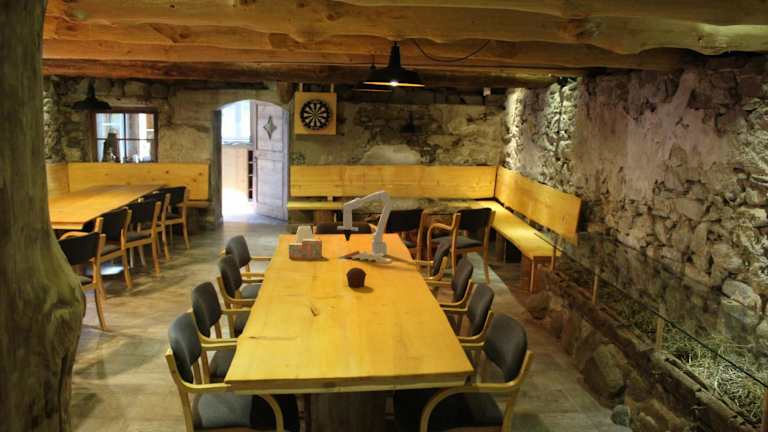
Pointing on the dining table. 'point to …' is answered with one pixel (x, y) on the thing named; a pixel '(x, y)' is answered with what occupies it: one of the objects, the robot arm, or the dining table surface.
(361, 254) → the ivory domino
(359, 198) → the robot arm
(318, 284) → the dining table surface
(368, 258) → the ivory domino
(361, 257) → the ivory domino
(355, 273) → the muffin
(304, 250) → the stack of blocks
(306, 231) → the cup
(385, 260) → the ivory domino
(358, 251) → the red domino
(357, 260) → the domino mat
